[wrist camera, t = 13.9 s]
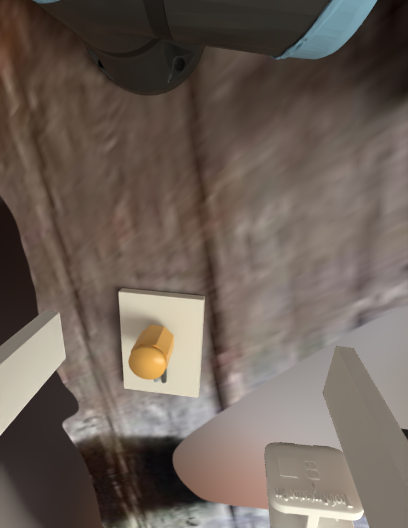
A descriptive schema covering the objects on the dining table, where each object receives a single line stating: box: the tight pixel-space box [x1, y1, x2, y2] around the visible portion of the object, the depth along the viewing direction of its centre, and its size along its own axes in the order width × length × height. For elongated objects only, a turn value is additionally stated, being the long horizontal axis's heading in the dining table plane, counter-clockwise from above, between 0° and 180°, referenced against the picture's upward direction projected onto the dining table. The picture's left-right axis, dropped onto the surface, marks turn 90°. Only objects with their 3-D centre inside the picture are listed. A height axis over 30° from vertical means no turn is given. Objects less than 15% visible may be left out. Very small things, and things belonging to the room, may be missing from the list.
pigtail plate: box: [119, 288, 205, 398], centre depth 47 cm, size 20×14×8 cm
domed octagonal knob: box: [128, 325, 174, 380], centre depth 44 cm, size 5×5×6 cm
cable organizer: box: [265, 442, 364, 528], centre depth 51 cm, size 15×11×12 cm
